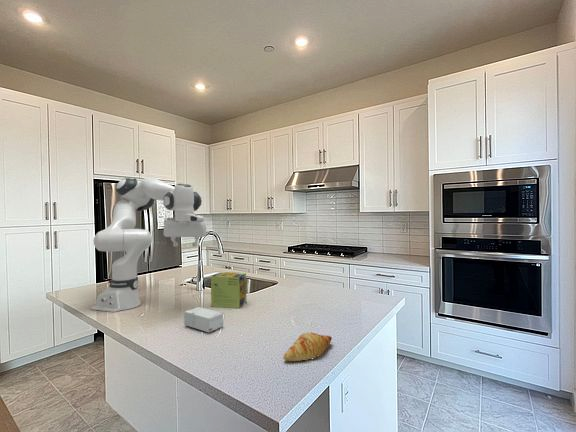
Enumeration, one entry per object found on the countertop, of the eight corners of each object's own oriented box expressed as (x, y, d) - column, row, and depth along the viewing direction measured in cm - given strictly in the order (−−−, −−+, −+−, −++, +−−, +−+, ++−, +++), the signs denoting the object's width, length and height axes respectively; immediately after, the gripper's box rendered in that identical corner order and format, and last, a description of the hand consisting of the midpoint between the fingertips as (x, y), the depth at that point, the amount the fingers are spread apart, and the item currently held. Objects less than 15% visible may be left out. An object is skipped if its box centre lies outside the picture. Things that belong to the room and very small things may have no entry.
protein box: (239, 308, 148) (239, 277, 147) (210, 306, 151) (210, 275, 150) (247, 301, 158) (246, 272, 157) (219, 300, 161) (219, 271, 161)
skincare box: (198, 306, 132) (224, 311, 125) (198, 320, 132) (224, 326, 125) (183, 311, 125) (209, 317, 118) (183, 326, 125) (209, 333, 118)
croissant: (290, 377, 94) (297, 360, 90) (272, 352, 100) (279, 335, 97) (335, 354, 107) (343, 338, 104) (317, 333, 114) (324, 318, 110)
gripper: (160, 217, 142) (161, 247, 142) (202, 217, 140) (202, 247, 140) (167, 217, 148) (167, 245, 148) (207, 217, 146) (207, 245, 146)
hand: (185, 246), depth 144 cm, fingers open, 8 cm apart
